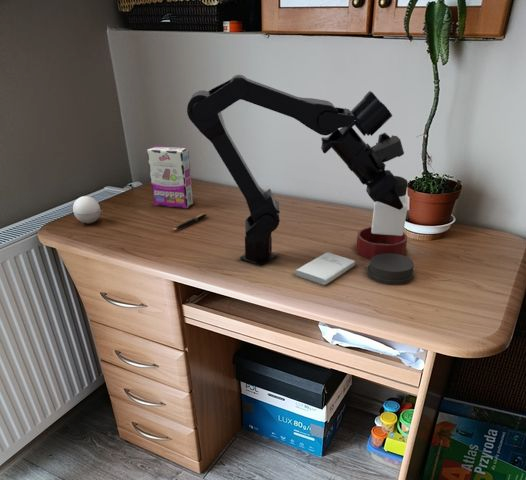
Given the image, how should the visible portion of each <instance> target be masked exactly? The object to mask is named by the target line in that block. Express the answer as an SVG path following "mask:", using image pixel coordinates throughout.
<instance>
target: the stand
mask: <svg viewBox="0 0 526 480" xmlns="http://www.w3.org/2000/svg"><path fill="white" fill-rule="evenodd" d="M414 266H415V261H413V260H412V259H411V258H410V257H408V256H406V255H404V256H403V255H399V254H393V253H384V254H378V255H375V256H373V257H372V258H371V259H369V265H368V266H367V269H366V274H367V276H368V278H369V279H371V280H373V282H377V283H379V284H384V285H392V286H399V285H400V286H401V285H405V284H408V283H410V282H411V281H413V280H414V277H415V270H414Z"/></svg>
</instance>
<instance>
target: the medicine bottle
mask: <svg viewBox="0 0 526 480" xmlns="http://www.w3.org/2000/svg"><path fill="white" fill-rule="evenodd" d="M394 176H395V178H396V179H397V180H398V183H397V184H396V187H395V190H396V192H397V194H398V196H399V198H400V200H401V202H402V204H403V208H402V209H400V210H399V209H396V208H394V207H391V206H389V205H386V204H384V203H381V202H378V201H377V202H374V203H373V204H374V205H373V211H372V212H373V213H372V221H371V227H372V230H371V233H372V234H382V235H395V236H402V235H403V232H405V224H406V220H407V219H406V218H407V213H408V197H407V191H408V185H409V181H408V180H407V179H406V178H404V177H403V176H398V175H394Z"/></svg>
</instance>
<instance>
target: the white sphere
mask: <svg viewBox="0 0 526 480" xmlns="http://www.w3.org/2000/svg"><path fill="white" fill-rule="evenodd" d="M101 212H102V209H101V206H100V204H99V202H98V201H97V200H96V199H95V198H93V197H92V196H88V195H83V196H80V197H78V198H77V199H76V200H75V201H74V202H73V205H72V213H73V215H74V217H75V218H76V219H77V220H78V221H79V222H81V223H83V224H93V223H95V222H96V221H97V220H98V219H99V218H100V216H101Z"/></svg>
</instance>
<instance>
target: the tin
mask: <svg viewBox="0 0 526 480" xmlns="http://www.w3.org/2000/svg"><path fill="white" fill-rule="evenodd" d="M371 230H372V226H368V227H365V228H362V229H360V230H359V231H358V232H357V235H356V236H357V237H356V245H355V251H356V252H357V254H358V255H359V256H361V257H363V258H364V259H369V260H371V258H372V257H373V256H375V255H378V254H384V253H393V254H399V255H403V256H406V250H407V242H408V235H407V233H405V231H403V235H402V236H395V235H382V234H372V233H371Z"/></svg>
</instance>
